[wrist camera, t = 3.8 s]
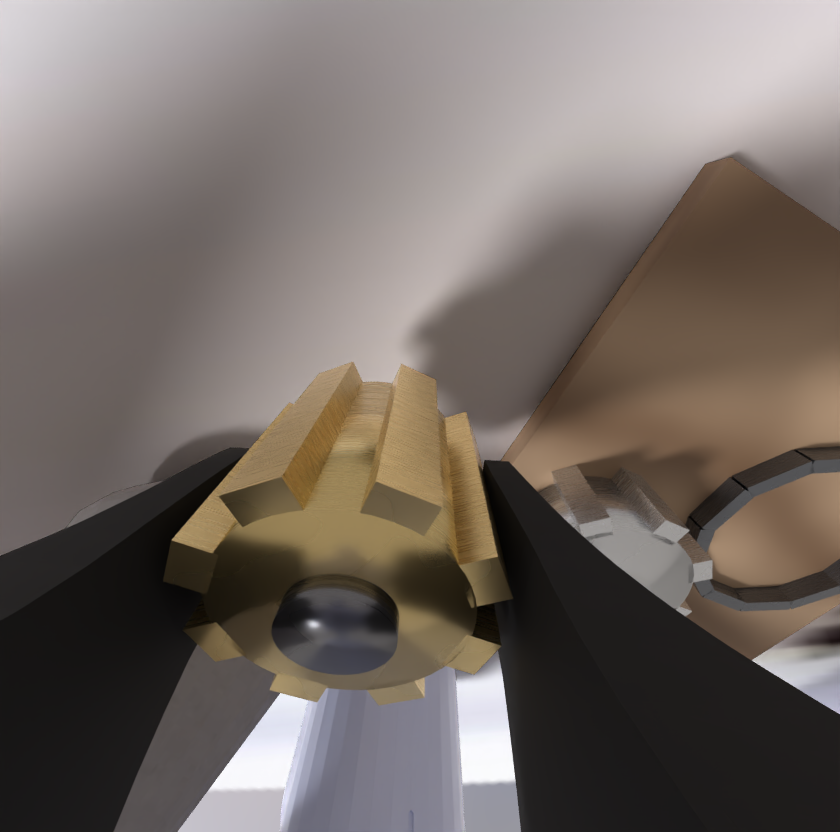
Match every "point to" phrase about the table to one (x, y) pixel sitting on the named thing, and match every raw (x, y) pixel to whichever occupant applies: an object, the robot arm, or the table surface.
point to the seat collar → (738, 495)
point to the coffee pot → (191, 726)
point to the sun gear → (632, 530)
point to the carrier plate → (716, 388)
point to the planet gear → (349, 544)
